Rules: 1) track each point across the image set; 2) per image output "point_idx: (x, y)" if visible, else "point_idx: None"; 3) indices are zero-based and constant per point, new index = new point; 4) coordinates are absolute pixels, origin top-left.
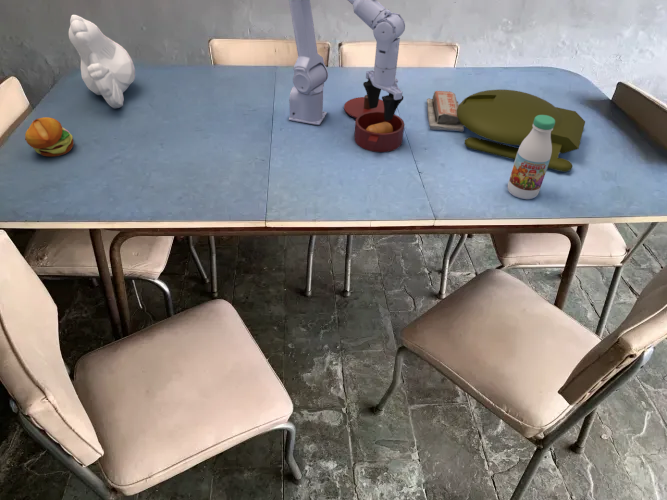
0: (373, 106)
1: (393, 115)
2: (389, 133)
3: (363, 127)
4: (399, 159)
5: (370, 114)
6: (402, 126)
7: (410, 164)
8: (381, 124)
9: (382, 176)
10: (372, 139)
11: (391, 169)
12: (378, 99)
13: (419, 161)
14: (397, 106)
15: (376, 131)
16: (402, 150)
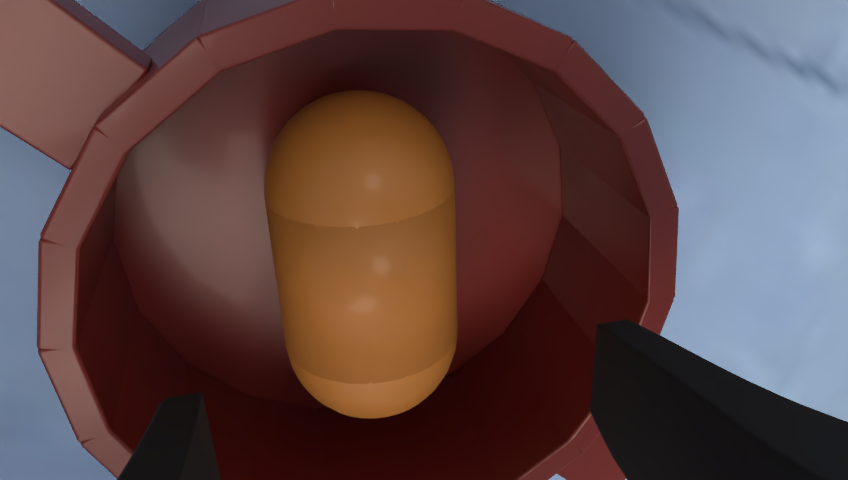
0: (213, 466)
1: (669, 342)
2: (654, 316)
3: (131, 318)
4: (716, 184)
5: (83, 324)
6: (607, 100)
7: (819, 134)
8: (391, 288)
9: (801, 382)
10: (614, 465)
11: (779, 299)
12: (186, 472)
13: (835, 34)
14: (840, 428)
15: (450, 351)
16: (620, 86)
